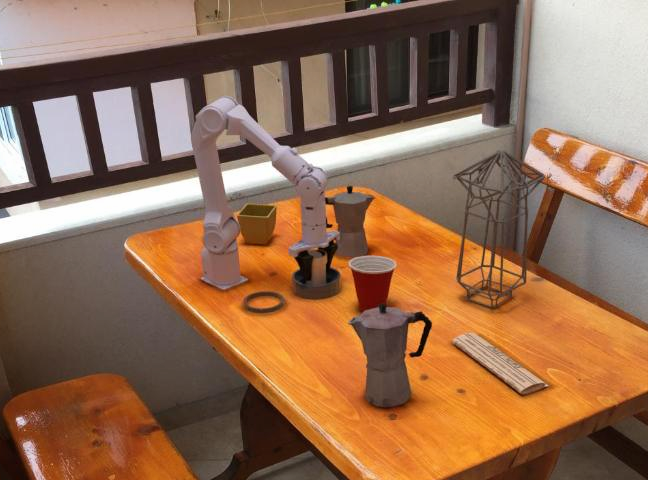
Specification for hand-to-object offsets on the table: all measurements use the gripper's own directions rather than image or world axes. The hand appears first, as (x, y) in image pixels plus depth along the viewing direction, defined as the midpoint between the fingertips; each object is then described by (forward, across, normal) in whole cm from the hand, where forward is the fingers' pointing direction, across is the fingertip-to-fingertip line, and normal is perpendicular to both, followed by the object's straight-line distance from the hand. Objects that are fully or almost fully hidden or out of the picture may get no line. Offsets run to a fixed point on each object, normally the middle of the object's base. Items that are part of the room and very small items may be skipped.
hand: (316, 275), depth 206 cm
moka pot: (+4, -22, -45) cm, 50 cm away
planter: (+4, 0, 0) cm, 4 cm away
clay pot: (+3, 0, 0) cm, 3 cm away
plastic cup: (+4, +2, -17) cm, 18 cm away
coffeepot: (+4, +21, +11) cm, 24 cm away
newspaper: (+4, +2, -53) cm, 53 cm away
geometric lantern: (+4, +25, -33) cm, 42 cm away
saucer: (+4, -14, +3) cm, 15 cm away
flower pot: (+4, +10, +34) cm, 36 cm away
